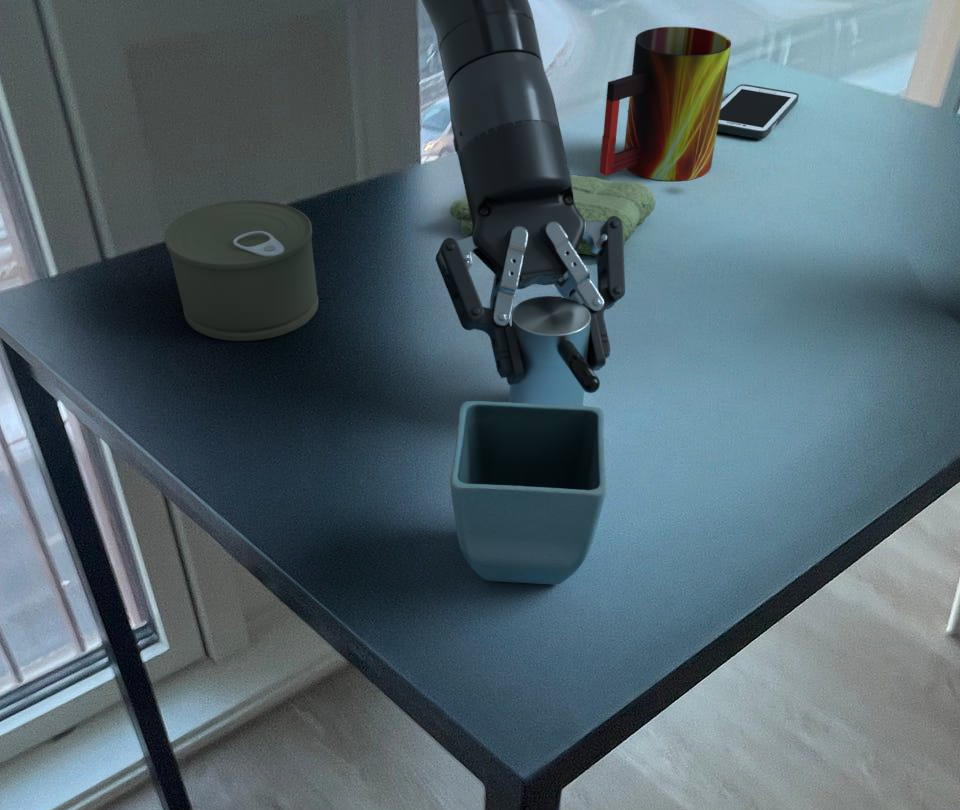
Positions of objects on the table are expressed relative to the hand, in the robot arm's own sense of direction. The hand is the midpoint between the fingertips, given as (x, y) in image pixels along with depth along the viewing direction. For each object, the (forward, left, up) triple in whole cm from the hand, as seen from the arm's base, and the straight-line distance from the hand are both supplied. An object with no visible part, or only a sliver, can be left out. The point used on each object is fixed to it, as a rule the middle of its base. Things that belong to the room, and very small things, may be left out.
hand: (557, 374), depth 73 cm
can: (+9, -30, -4) cm, 31 cm away
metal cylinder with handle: (0, +1, -4) cm, 4 cm away
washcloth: (-23, -26, -4) cm, 35 cm away
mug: (-41, -30, -4) cm, 50 cm away
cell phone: (-61, -35, -4) cm, 70 cm away
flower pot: (+11, +10, -4) cm, 16 cm away
